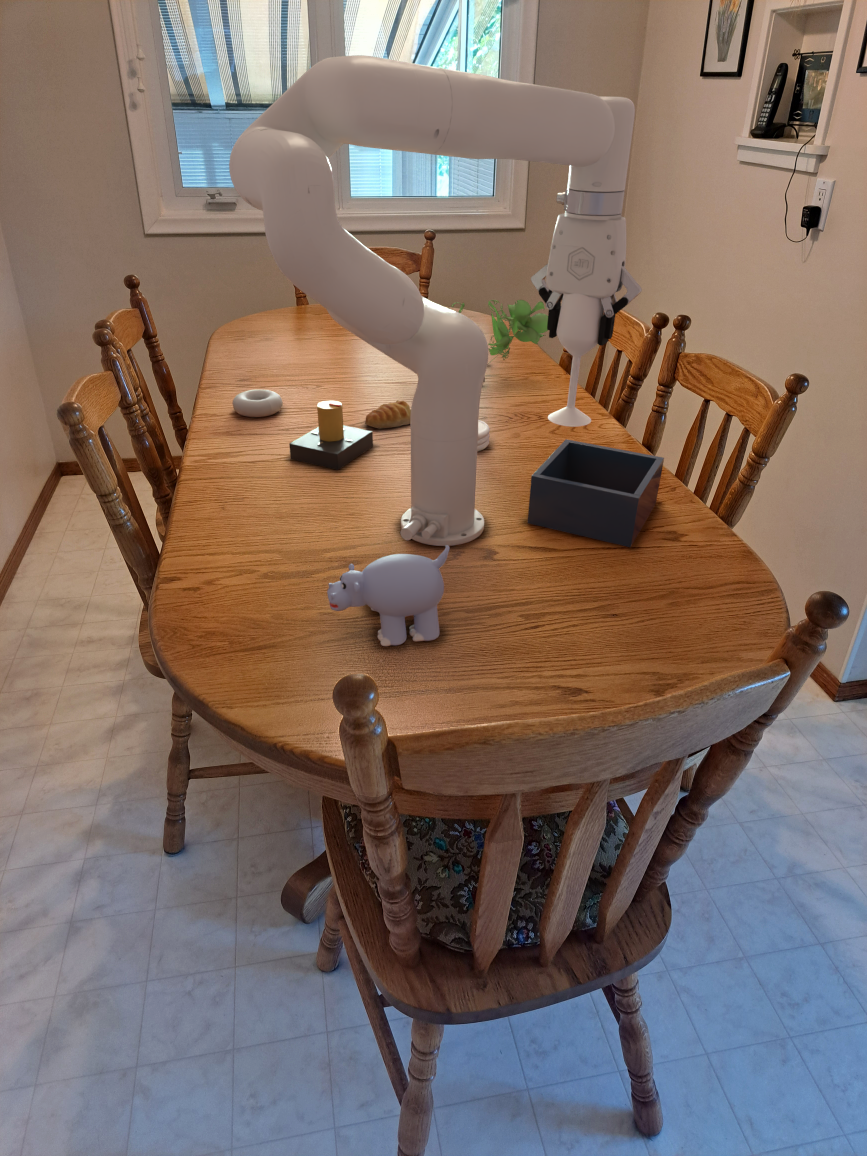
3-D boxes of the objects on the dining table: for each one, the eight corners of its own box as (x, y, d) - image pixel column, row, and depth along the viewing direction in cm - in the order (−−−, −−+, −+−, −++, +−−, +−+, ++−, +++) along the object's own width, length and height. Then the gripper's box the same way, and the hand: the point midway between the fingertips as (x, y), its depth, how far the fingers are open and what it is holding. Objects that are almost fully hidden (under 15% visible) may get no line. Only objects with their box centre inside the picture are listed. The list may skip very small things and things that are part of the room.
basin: (630, 547, 113) (639, 498, 109) (527, 523, 119) (531, 475, 114) (655, 503, 125) (664, 457, 121) (560, 483, 131) (565, 439, 127)
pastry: (377, 433, 149) (376, 414, 147) (357, 423, 153) (357, 405, 151) (416, 422, 154) (416, 404, 152) (396, 413, 158) (395, 395, 156)
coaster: (494, 436, 148) (495, 419, 146) (482, 457, 140) (483, 438, 138) (443, 431, 150) (443, 413, 149) (429, 450, 142) (429, 432, 140)
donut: (254, 400, 164) (222, 414, 157) (253, 384, 163) (220, 397, 155) (293, 408, 160) (262, 423, 153) (291, 392, 159) (260, 405, 151)
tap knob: (314, 438, 138) (311, 404, 135) (327, 430, 142) (325, 397, 138) (335, 443, 137) (333, 408, 133) (348, 434, 140) (346, 401, 137)
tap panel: (338, 470, 134) (337, 453, 133) (290, 459, 138) (288, 442, 137) (373, 446, 144) (372, 430, 142) (327, 436, 147) (326, 420, 146)
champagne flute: (599, 424, 118) (623, 255, 105) (560, 428, 116) (579, 257, 103) (578, 409, 123) (597, 247, 111) (540, 413, 121) (555, 249, 109)
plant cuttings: (389, 410, 179) (411, 376, 158) (376, 339, 180) (396, 295, 159) (528, 396, 189) (566, 362, 167) (515, 328, 190) (551, 286, 168)
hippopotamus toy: (325, 603, 100) (320, 539, 95) (439, 590, 103) (440, 526, 98) (335, 654, 91) (330, 585, 86) (459, 638, 94) (462, 570, 89)
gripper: (523, 202, 104) (513, 337, 114) (651, 213, 98) (629, 355, 107) (543, 197, 110) (532, 326, 120) (665, 207, 103) (644, 342, 113)
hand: (578, 338), depth 113 cm, fingers closed on champagne flute, 6 cm apart
